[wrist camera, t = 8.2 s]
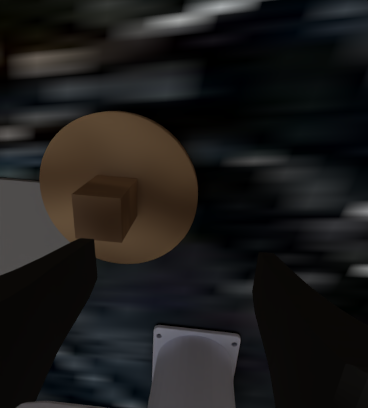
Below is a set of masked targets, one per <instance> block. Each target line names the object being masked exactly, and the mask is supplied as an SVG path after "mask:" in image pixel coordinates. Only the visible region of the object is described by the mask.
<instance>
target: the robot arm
mask: <svg viewBox="0 0 368 408" xmlns="http://www.w3.org/2000/svg"><path fill="white" fill-rule="evenodd" d="M96 280H97V267H96V255H95V243H94V239H88V238H79V239H77V240H75V241H73V242H70V243H68V244H66V245H65V246H63V247H61V248H59V249H57V250H55V251H53V252H51V253H49V254H47V255H45V256H43V257H41V258H39V259H37V260H35V261H33V262H30V263H28V264H26V265H24V266H22V267H20V268H17V269H15V270H13V271H10V272H8V273H5V274H3V275H0V408H105V407H96V406H88V405H79V404H70V403H61V402H53V401H36V399H37V396H38V394H39V392H40V390H41V387H42V385H43V383H44V380H45V378H46V376H47V374H48V371H49V369H50V367H51V365H52V363H53V361H54V359H55V356H56V354H57V352H58V350H59V348H60V347H61V345H62V343H63V341H64V339H65V338H66V336H67V334H68V333H69V331H70V329H71V328H72V326H73V324H74V323H75V321H76V319H77V317H78V316H79V314H80V312H81V311H82V309H83V307H84V306H85V304H86V302H87V300H88V299H89V297H90V294H91V292H92V290H93V287H94V285H95V282H96ZM252 293H253V301H254V309H255V315H256V319H257V323H258V326H259V330H260V334H261V338H262V342H263V345H264V349H265V353H266V357H267V361H268V365H269V370H270V374H271V381H272V387H273V393H274V400H275V407H276V408H368V326H367V325H366V324H364V323H362V322H360V321H359V320H357V319H355V318H353V317H352V316H350V315H349V314H347V313H345V312H344V311H342V310H341V309H340V308H338V307H337V306H335V305H334V304H332V303H331V302H329V301H328V300H327V299H325V298H324V297H323V296H321V295H320V294H319V293H317V292H316V291H315V290H314V289H312V288H311V287H310V286H309V285H308V284H306V283H305V282H304V281H303V280H302V279H301V278H300V277H298V276H297V275H296V274H295V273H294V272H293V271H292V270H291V269H290V268H289V267H288V266H287V265H286V264H284V263H283V262H282V261H281V260H280V259H279V258H278V257H277V256H276V255H275V254H274V253H263V252H259V254H258V260H257V266H256V272H255V278H254V284H253V290H252ZM158 334H161V335H158ZM240 341H241V339H240V336H239V335H238V334H236V333H228V332H219V331H210V330H201V329H192V328H183V327H174V326H165V325H156V326H155V328H154V337H153V368H152V386H151V392H150V397H149V402H148V407H147V408H235V397H234V385H233V379H234V373H235V368H236V363H237V357H238V352H239V347H240ZM234 342H235V343H234ZM35 401H36V402H35Z"/></svg>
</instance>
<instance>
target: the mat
mask: <svg viewBox="0 0 368 408" xmlns="http://www.w3.org/2000/svg"><path fill="white" fill-rule="evenodd" d="M68 243H70V242H69V241H68V240H67V239H66V238H65V237H64V236H63V235H62V234H61V233H60V231H59V230H58V229H57V228H56V226H55V225H54V224H53V222H52V220H51V219H50V217H49V215H48V213H47V211H46V209H45V206H44V203H43V200H42V196H41V191H40V181H34V180H22V179H11V178H0V275H3V274H5V273H8V272H10V271H13V270H15V269H17V268H20V267H22V266H24V265H26V264H28V263H30V262H33V261H35V260H37V259H39V258H41V257H43V256H45V255H47V254H49V253H51V252H53V251H55V250H57V249H59V248H61V247H63V246H65V245H66V244H68Z"/></svg>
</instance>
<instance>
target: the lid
mask: <svg viewBox="0 0 368 408" xmlns="http://www.w3.org/2000/svg"><path fill="white" fill-rule="evenodd" d="M39 180H40V191H41V196H42V200H43V203H44V206H45V209H46V211H47V213H48V215H49V217H50V219H51V220H52V222H53V224H54V225H55V226H56V228H57V229H58V230H59V231H60V233H61V234H62V235H63V236H64V237H65V238H66V239H67V240H68V241H69V242H73V241H75V240H77V239H79V238H88V239H94V243H95V255H96V258H98V259H101V260H104V261H108V262H113V263H120V264H134V263H142V262H147V261H150V260H153V259H156V258H158V257H160V256H162V255H164V254H166V253H167V252H169V251H170V250H172V249H173V248H174V247H175V246H177V245H178V244H179V243H180V241H181V240H182V239H183V238H184V237H185V235H186V234H187V232H188V231H189V229H190V227H191V225H192V223H193V220H194V217H195V213H196V208H197V201H198V183H197V177H196V173H195V169H194V166H193V164H192V161H191V159H190V157H189V155H188V153H187V152H186V150H185V148H184V147H183V146H182V144H181V143H180V142H179V141H178V140H177V139H176V137H175V136H174V135H173V134H172V133H171V132H169V131H168V130H167V129H165V128H164V127H163V126H162V125H160V124H158V123H157V122H155V121H153V120H151V119H149V118H147V117H144V116H142V115H138V114H135V113H131V112H124V111H106V112H99V113H94V114H90V115H87V116H83V117H81V118H79V119H77V120H74V121H72V122H71V123H69V124H68V125H67V126H65V127H64V128H63V129H62V130H60V131H59V132H58V133H57V134H56V136H55V137H54V138H53V139H52V141H51V142H50V144H49V145H48V147H47V149H46V151H45V154H44V156H43V159H42V163H41V168H40V178H39Z"/></svg>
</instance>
